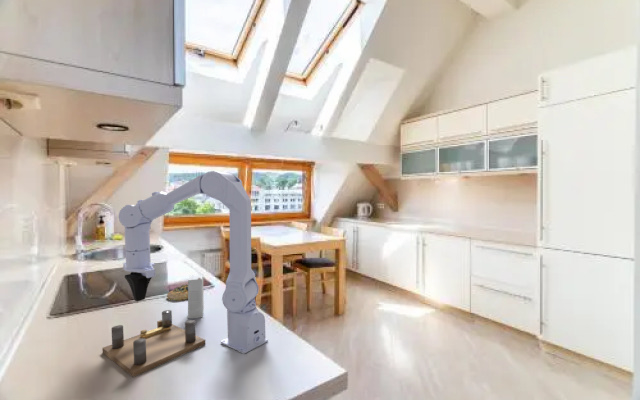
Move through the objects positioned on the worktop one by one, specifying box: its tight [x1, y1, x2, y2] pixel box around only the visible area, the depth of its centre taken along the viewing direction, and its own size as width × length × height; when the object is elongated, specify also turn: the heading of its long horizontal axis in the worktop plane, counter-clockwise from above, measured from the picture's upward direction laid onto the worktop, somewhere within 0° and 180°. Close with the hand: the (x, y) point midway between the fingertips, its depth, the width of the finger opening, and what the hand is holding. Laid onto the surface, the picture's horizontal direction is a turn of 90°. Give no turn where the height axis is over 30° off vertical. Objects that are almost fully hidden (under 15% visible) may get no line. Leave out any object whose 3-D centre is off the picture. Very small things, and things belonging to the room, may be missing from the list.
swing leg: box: [139, 309, 173, 338], centre depth 84 cm, size 8×2×5 cm, turn 139°
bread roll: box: [166, 283, 188, 302], centre depth 117 cm, size 11×11×5 cm
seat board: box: [101, 319, 206, 378], centre depth 78 cm, size 17×17×6 cm
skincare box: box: [187, 273, 205, 320], centre depth 99 cm, size 6×4×12 cm
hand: (139, 299), depth 85 cm, fingers closed
